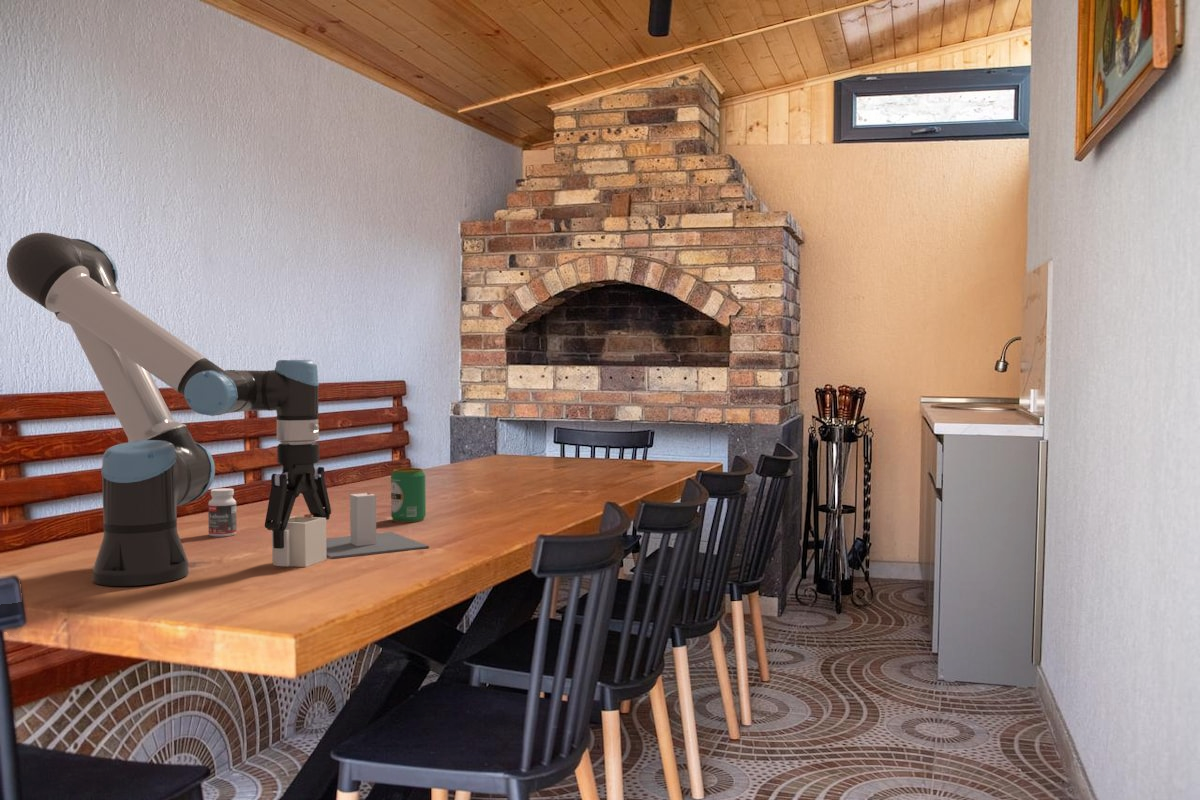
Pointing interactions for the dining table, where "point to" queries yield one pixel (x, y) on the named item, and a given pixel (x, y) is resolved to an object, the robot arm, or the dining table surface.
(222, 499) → the pill bottle
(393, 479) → the beverage can
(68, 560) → the dining table surface
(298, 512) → the dining table surface
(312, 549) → the cream square sleeve
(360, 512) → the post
